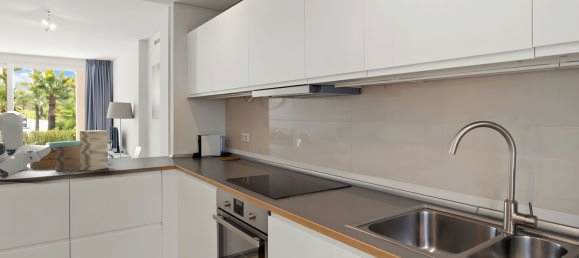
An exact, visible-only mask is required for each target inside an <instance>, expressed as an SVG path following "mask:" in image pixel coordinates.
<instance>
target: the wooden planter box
mask: <svg viewBox="0 0 579 258" xmlns="http://www.w3.org/2000/svg"><path fill="white" fill-rule="evenodd" d="M40 159H41V160H40V161H38V162H32V163H29V169H35V170H39V169H40V170H42V169H47V168H48V169H56V157H55V149H51V152H50V153H48V154H47V155H46V156H44V157H43V158H40ZM48 169H47V170H48Z"/></svg>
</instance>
